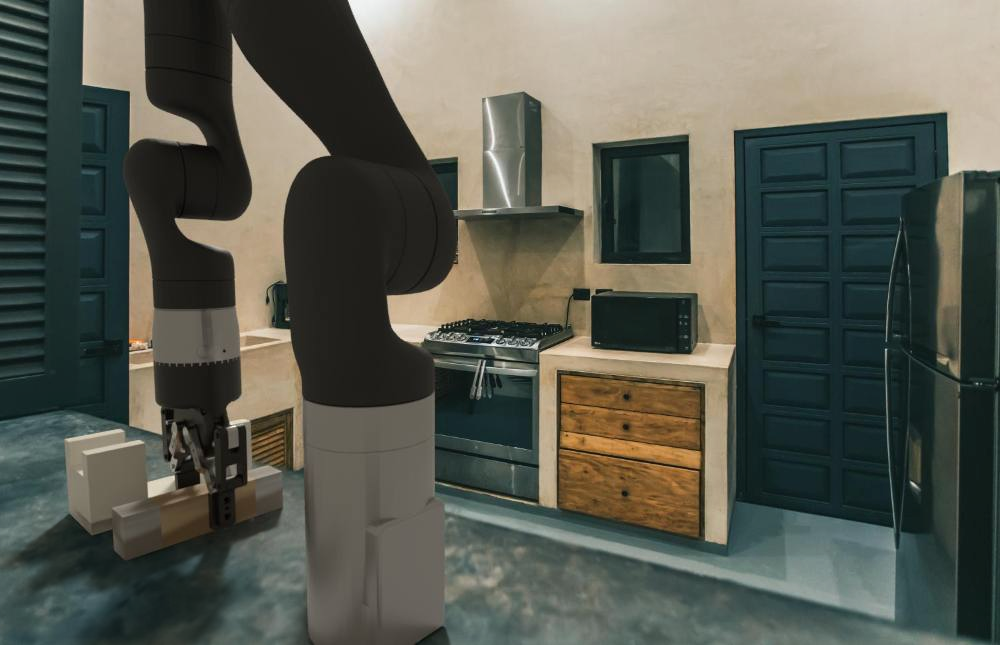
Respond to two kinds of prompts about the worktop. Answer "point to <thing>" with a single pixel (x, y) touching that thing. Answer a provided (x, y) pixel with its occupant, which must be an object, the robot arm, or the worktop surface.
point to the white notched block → (114, 475)
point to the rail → (188, 513)
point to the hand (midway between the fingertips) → (205, 515)
